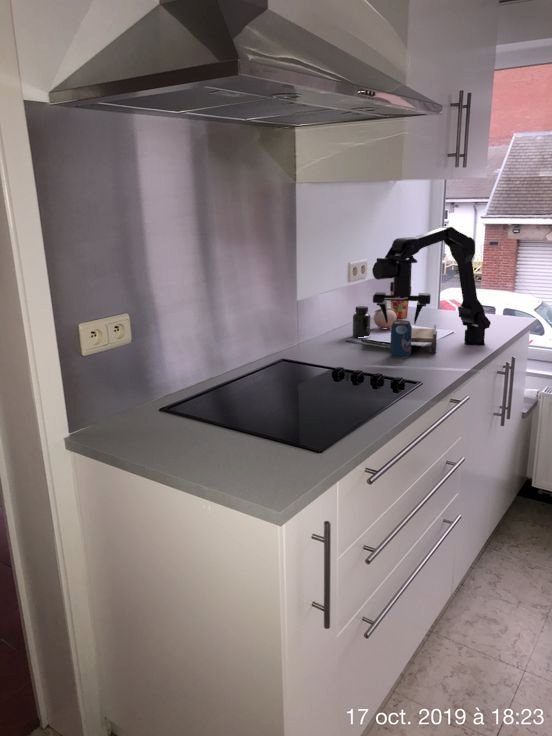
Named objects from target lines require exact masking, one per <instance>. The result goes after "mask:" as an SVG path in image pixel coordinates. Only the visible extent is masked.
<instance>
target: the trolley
mask: <svg viewBox="0 0 552 736" xmlns="http://www.w3.org/2000/svg"><path fill="white" fill-rule="evenodd" d="M437 333H438V330H437V324H434V325H433V328H422V327H421V328H420V327H419V328H417V327H416V328H415V327H414V328H413V327H412V336H411V343H422V344H423V343H427V344H428V343H429V344H430V345H431V348H430V351H431V354H436V353H437V339H438V338H437V337H438V335H437Z"/></svg>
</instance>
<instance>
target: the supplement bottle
mask: <svg viewBox="0 0 552 736" xmlns="http://www.w3.org/2000/svg"><path fill="white" fill-rule="evenodd" d="M369 335H370V336H371V315H370V314H369V307H368V306H365V305H358V306H355V313H353V315H352V337H353V338H354V339H357V338H358V337H364V336H369Z"/></svg>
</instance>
